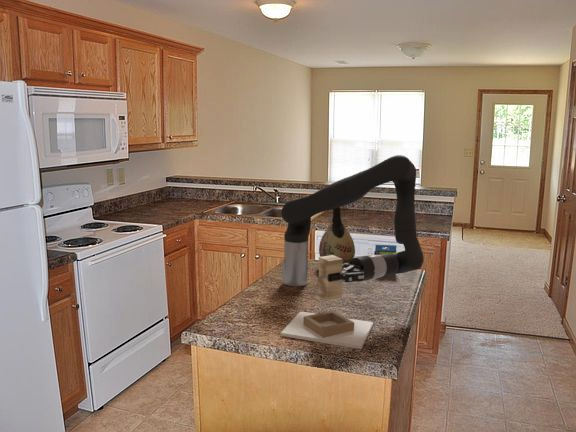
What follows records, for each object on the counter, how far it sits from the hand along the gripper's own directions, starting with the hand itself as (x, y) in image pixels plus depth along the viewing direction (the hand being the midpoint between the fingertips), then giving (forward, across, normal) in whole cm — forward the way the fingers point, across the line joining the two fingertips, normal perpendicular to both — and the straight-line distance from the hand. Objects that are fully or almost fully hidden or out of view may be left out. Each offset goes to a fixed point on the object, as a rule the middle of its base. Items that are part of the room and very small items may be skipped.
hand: (323, 275), depth 148 cm
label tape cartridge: (-58, -38, +18) cm, 72 cm away
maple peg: (-3, 0, +7) cm, 7 cm away
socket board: (-3, 0, +18) cm, 18 cm away
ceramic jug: (-43, -52, +18) cm, 69 cm away
